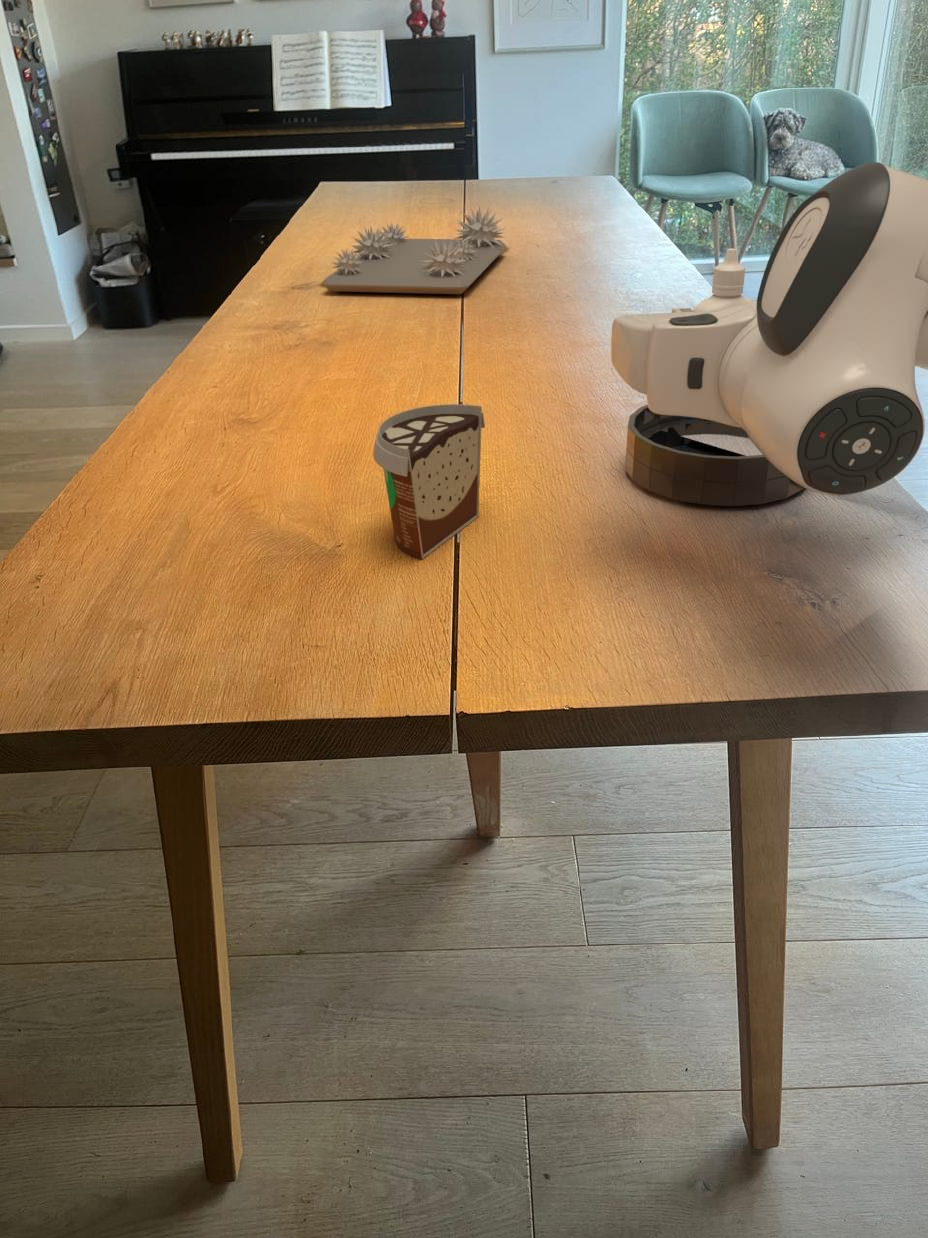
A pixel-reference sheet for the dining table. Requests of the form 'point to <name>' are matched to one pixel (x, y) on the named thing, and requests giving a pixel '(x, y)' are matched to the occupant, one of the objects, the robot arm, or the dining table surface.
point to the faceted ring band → (698, 463)
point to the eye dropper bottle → (726, 285)
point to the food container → (431, 473)
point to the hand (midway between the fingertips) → (721, 316)
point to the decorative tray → (418, 260)
